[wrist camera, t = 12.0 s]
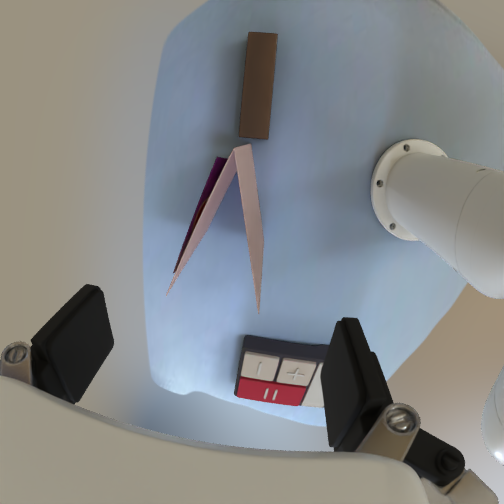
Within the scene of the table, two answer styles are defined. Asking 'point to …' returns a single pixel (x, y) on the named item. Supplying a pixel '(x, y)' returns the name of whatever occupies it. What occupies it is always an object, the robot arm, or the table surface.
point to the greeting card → (210, 202)
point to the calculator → (280, 372)
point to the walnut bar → (258, 85)
